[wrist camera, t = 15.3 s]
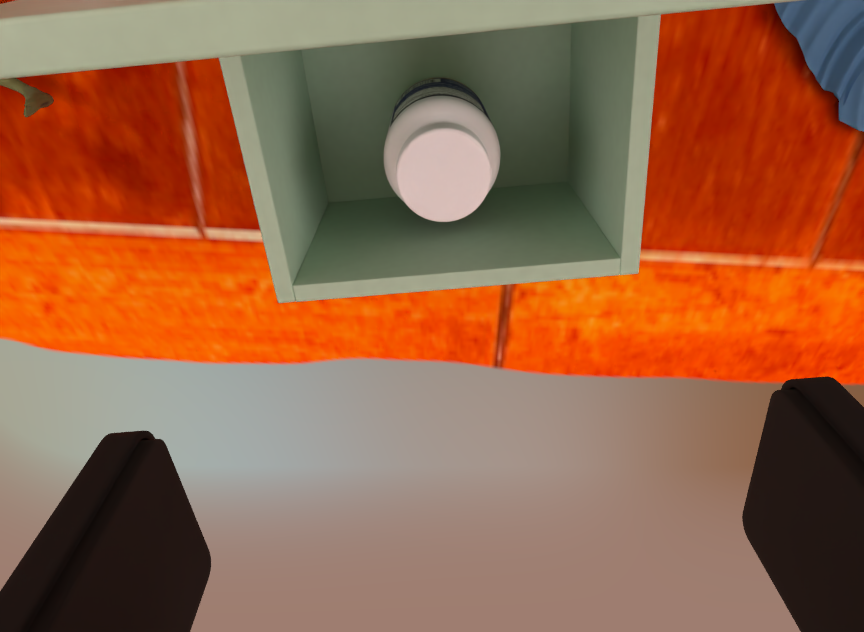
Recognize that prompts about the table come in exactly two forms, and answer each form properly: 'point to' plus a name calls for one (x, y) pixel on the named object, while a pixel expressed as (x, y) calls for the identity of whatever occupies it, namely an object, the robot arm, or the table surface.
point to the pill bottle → (441, 149)
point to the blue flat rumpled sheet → (832, 48)
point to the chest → (516, 180)
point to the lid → (269, 26)
